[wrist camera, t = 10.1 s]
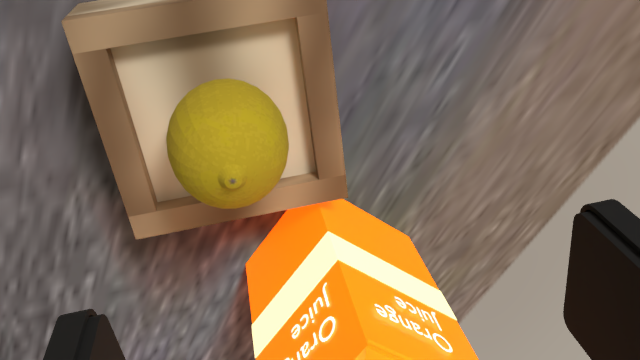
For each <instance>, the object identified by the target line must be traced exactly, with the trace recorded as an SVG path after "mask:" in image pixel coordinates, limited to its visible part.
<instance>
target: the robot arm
mask: <svg viewBox="0 0 640 360" xmlns="http://www.w3.org/2000/svg"><path fill="white" fill-rule="evenodd" d="M563 312H564V320H565V323H566V325H567V328H568V329H569V331H570V332H571V334H572V335H573V336H574V337H575V339H576V340H577V341H578V343H579V344H580V345H581V346H582V348H583V349H584V350H585V352H586V353H587V354H588V356H589V357H590V358H591V360H640V219H639V218H638V217H637V216H635V215H634V214H633V213H632V212H631V211H629V210H628V209H627V208H625V206H623V205H622V204H621V203H620V202H618V201H616V200H613V199H610V200H605V201H601V202H596V203H591V204H587V205H584V206H583V207H582V208H581V211H580V213H579V214H576V215H575V217H574V221H573V230H572V239H571V248H570V257H569V266H568V275H567V284H566V294H565V302H564V311H563ZM43 360H125V357H124V355H123V353H122V350H121V348H120V346H119V343H118V341H117V339H116V337H115V334H114V332H113V330H112V327H111V325H110V323H109V320H108V318H107V317H106V316H105V315H104V314H102V315H97V314H96V312H95V311H94V310H93V309H88V310H83V311H78V312H74V313H69V314H64V315H61V316H59V317H58V319H57V321H56V324H55V327H54V330H53V333H52V335H51V338H50V341H49V344H48V347H47V350H46V353H45V356H44V358H43Z"/></svg>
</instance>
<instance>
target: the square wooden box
mask: <svg viewBox="0 0 640 360" xmlns="http://www.w3.org/2000/svg"><path fill="white" fill-rule="evenodd" d="M61 22H62V25H63V28H64V31H65V34H66V36H67V39H68V42H69V45H70V48H71V51H72V54H73V57H74V60H75V63H76V66H77V69H78V72H79V74H80V77H81V80H82V83H83V86H84V89H85V92H86V95H87V98H88V101H89V104H90V107H91V109H92V112H93V115H94V118H95V121H96V124H97V127H98V130H99V133H100V136H101V139H102V142H103V145H104V147H105V150H106V153H107V156H108V159H109V162H110V165H111V168H112V171H113V174H114V177H115V180H116V183H117V185H118V188H119V191H120V194H121V197H122V200H123V203H124V206H125V209H126V212H127V215H128V218H129V220H130V223H131V226H132V229H133V232H134V235H135V238H136V240H137V239H142V238H147V237H152V236H157V235H162V234H167V233H172V232H177V231H182V230H187V229H192V228H197V227H202V226H207V225H212V224H217V223H222V222H227V221H233V220H238V219H243V218H248V217H253V216H258V215H263V214H268V213H273V212H278V211H283V210H288V209H293V208H298V207H303V206H308V205H313V204H318V203H323V202H328V201H333V200H338V199H343V198H348V193H347V184H346V175H345V166H344V157H343V148H342V139H341V129H340V120H339V111H338V102H337V93H336V84H335V75H334V66H333V56H332V47H331V38H330V29H329V20H328V11H327V2H326V0H98V1H92V2H85V3H79V4H78V5H77V6H76V7H75V8H74V9H73V10H72V11H71V12H70V13H69V14H68V15H67V16H66V17H65V18H64V19H63V20H62V21H61ZM228 78H229V79H235V80H241V81H244V82H247V83H249V84H251V85H253V86H256V87H258V88H259V89H260V90H261V91H263V92H264V93H265V94H267V95H268V96H269V97H270V98H271V99H272V101H273V102H274V103H275V105H276V106H277V107H278V109H279V110H280V112H281V114H282V117H283V119H284V122H285V124H286V127H287V133H288V141H289V150H288V157H287V163H286V167H285V169H284V171H283V173H282V176H281V178H280V180H279V182H278V183H277V184H276V185H275V187H274V188H273V189H272V190H271V192H270V193H269V194H267V195H266V196H265V197H264V198H262V199H261V200H260V201H257V202H255V203H253V204H251V205H249V206H245V207H240V208H236V209H222V208H217V207H213V206H209V205H207V204H205V203H203V202H201V201H199V200H197V199H196V198H195V197H193V196H192V195H191V194H190V193H188V192H187V191H186V190H185V189H184V187H183V186H182V185H181V183H180V182H179V181H178V179H177V178H176V176H175V174H174V172H173V169H172V167H171V164H170V161H169V159H168V154H167V143H166V136H167V131H168V126H169V121H170V118H171V116H172V114H173V112H174V110H175V108H176V106H177V104H178V103H179V102H180V101H181V100H182V99H183V97H184V96H185V95H186V94H187V93H188V92H189V91H191V90H193V89H194V88H196V87H197V86H199V85H200V84H203V83H206V82H209V81H212V80H215V79H228Z"/></svg>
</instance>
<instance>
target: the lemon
mask: <svg viewBox="0 0 640 360" xmlns="http://www.w3.org/2000/svg"><path fill="white" fill-rule="evenodd" d="M166 143H167V154H168V159H169V161H170V164H171V167H172V169H173V172H174V174H175V176H176V178H177V179H178V181H179V182H180V183H181V185H182V186H183V187H184V189H185V190H186V191H187V192H188V193H190V194H191V195H192V196H193V197H195V198H196V199H197V200H199V201H201V202H203V203H205V204H207V205H209V206H213V207H217V208H222V209H236V208H240V207H245V206H249V205H251V204H253V203H255V202H257V201H260V200H261V199H262V198H264V197H265V196H266V195H267V194H269V193H270V192H271V190H272V189H273V188H274V187H275V185H276V184H277V183H278V182H279V180H280V178H281V176H282V173H283V171H284V169H285V167H286V163H287V157H288V150H289V141H288V133H287V127H286V124H285V122H284V119H283V117H282V114H281V112H280V110H279V109H278V107H277V106H276V105H275V103H274V102H273V101H272V99H271V98H270V97H269V96H268V95H267V94H265V93H264V92H263V91H261V90H260V89H259V88H258V87H256V86H253V85H251V84H249V83H247V82H244V81H241V80H235V79H229V78H228V79H215V80H212V81H209V82H206V83H203V84H200V85H199V86H197V87H196V88H194V89H193V90H191V91H189V92H188V93H187V94H186V95H185V96H184V97H183V99H182V100H181V101H180V102H179V103H178V104H177V106H176V108H175V110H174V112H173V114H172V116H171V118H170V121H169V126H168V131H167V136H166Z"/></svg>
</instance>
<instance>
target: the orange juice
mask: <svg viewBox="0 0 640 360" xmlns="http://www.w3.org/2000/svg"><path fill="white" fill-rule="evenodd" d="M246 272H247V281H248V290H249V299H250V308H251V317H252V325H251V326H252V336H253V345H254V354H255V358H256V360H478V358H477V356H476V354H475V352H474V351H473V349H472V348H471V345H470V344H469V342H468V340H467V338H466V337H465V335H464V333H463V332H462V330H461V328H460V326H459V324H458V323H457V321H456V320H457V319H456V317H455V315H454V314H453V312H452V310H451V308H450V307H449V305H448V303H447V301H446V300H445V298H444V296H443V294H442V293H441V291H439V289H438V287H437V286H436V284H435V282H434V280H433V279H432V277H431V275H430V273H429V272H428V270H427V268H426V266H425V264H424V263H423V261H422V259H421V257H420V256H419V254H418V252H417V250H416V249H415V247H414V245H413V243H412V242H411V240H410V238H409V237H408V236H407V235H405V234H403V233H401V232H400V231H398V230H396V229H394V228H393V227H391V226H389V225H387V224H386V223H384V222H382V221H380V220H379V219H377V218H375V217H373V216H372V215H370V214H368V213H366V212H365V211H363V210H361V209H359V208H358V207H356V206H354V205H352V204H351V203H349V202H347V201H345V200H344V199H338V200H333V201H328V202H323V203H318V204H313V205H308V206H303V207H298V208H293V209H288V210H287V211H286V212H285V213H284V215H283V216H282V217H281V219H280V220H279V221H278V223H277V224H276V225H275V226H274V228H273V229H272V230H271V232H270V233H269V234H268V236H267V237H266V238H265V239H264V241H263V242H262V243H261V245H260V246H259V247H258V249H257V250H256V251H255V252H254V254H253V255H252V256H251V258H250V259H249V260H248V262H247V263H246Z"/></svg>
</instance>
